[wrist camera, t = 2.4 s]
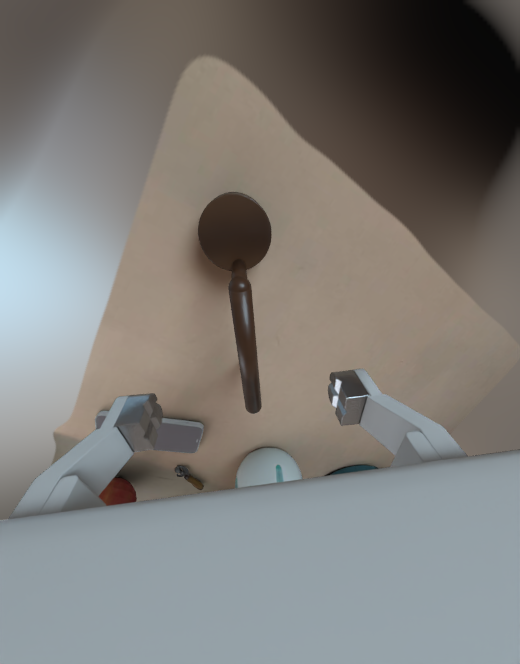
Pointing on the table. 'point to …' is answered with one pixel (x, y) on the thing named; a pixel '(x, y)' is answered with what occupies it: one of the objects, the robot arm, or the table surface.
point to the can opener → (188, 477)
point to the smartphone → (171, 434)
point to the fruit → (118, 492)
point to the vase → (267, 468)
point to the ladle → (238, 272)
